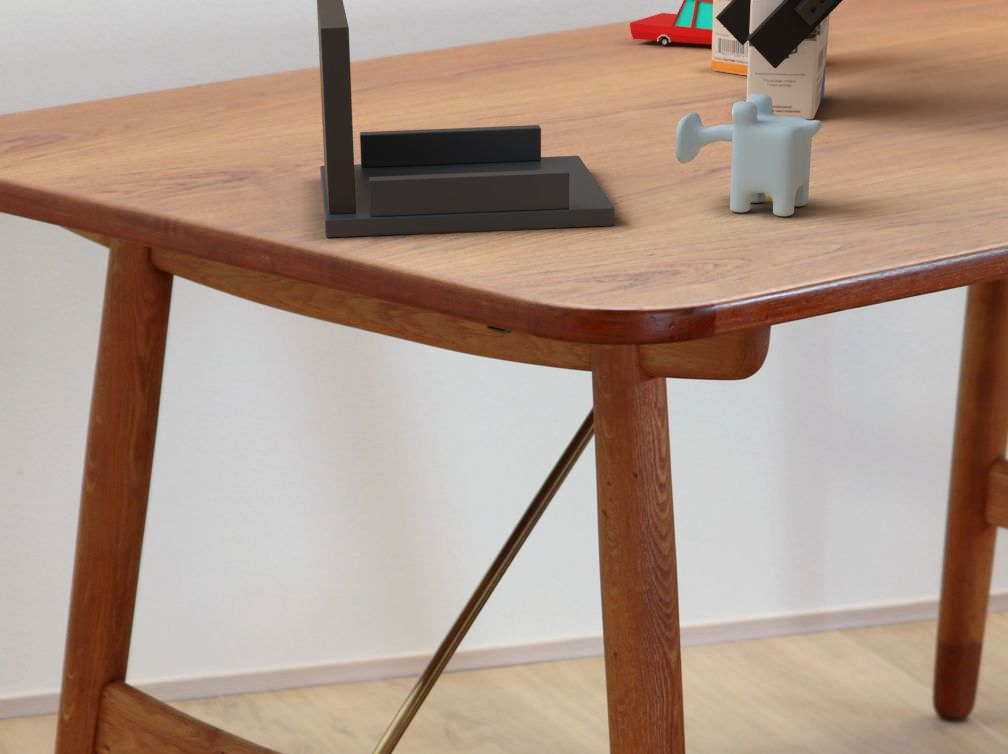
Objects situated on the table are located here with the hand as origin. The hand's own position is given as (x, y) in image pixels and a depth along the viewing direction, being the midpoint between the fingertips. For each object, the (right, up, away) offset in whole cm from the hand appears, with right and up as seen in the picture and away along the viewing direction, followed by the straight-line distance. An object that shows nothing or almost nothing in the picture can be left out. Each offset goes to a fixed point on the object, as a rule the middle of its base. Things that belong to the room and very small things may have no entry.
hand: (744, 42), depth 134 cm
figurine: (-4, -16, -24) cm, 29 cm away
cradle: (-20, -15, -21) cm, 33 cm away
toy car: (+2, +8, +29) cm, 30 cm away
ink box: (+3, -4, +2) cm, 6 cm away
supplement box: (+5, +3, +18) cm, 19 cm away
